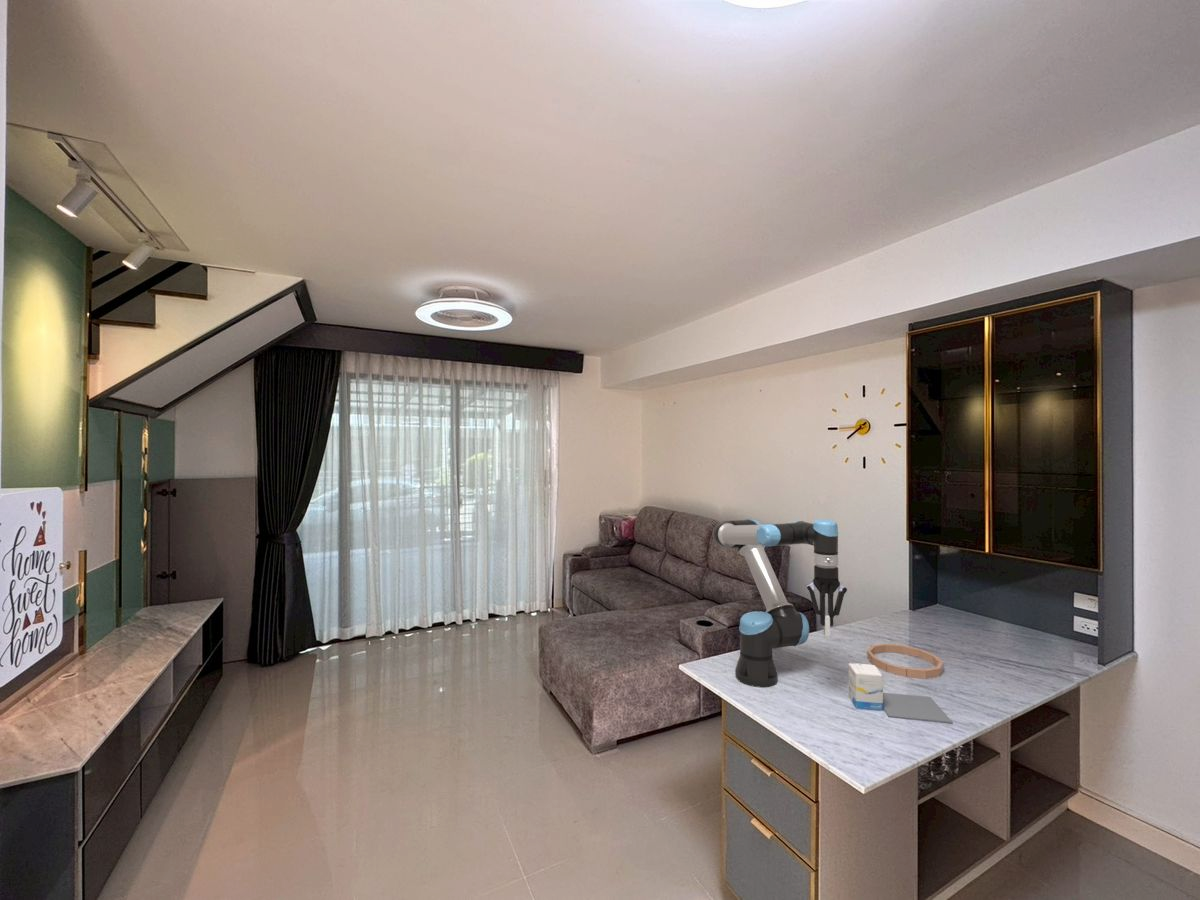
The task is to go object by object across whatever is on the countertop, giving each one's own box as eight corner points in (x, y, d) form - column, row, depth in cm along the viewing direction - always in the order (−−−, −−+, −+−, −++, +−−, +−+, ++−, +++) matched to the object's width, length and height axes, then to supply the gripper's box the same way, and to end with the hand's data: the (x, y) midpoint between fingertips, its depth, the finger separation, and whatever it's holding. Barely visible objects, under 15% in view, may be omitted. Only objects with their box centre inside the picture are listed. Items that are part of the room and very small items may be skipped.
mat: (888, 717, 157) (888, 715, 157) (872, 693, 173) (872, 691, 173) (952, 723, 153) (952, 722, 153) (930, 698, 169) (930, 696, 169)
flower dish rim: (879, 675, 186) (879, 667, 186) (860, 649, 211) (860, 642, 211) (954, 681, 181) (954, 673, 181) (925, 653, 205) (925, 646, 205)
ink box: (883, 711, 161) (883, 675, 161) (855, 708, 162) (855, 673, 162) (874, 698, 169) (874, 664, 169) (848, 696, 171) (847, 662, 171)
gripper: (807, 567, 166) (808, 637, 166) (849, 569, 163) (850, 640, 163) (803, 562, 173) (804, 629, 173) (843, 564, 171) (844, 632, 170)
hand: (826, 635), depth 168 cm, fingers closed
